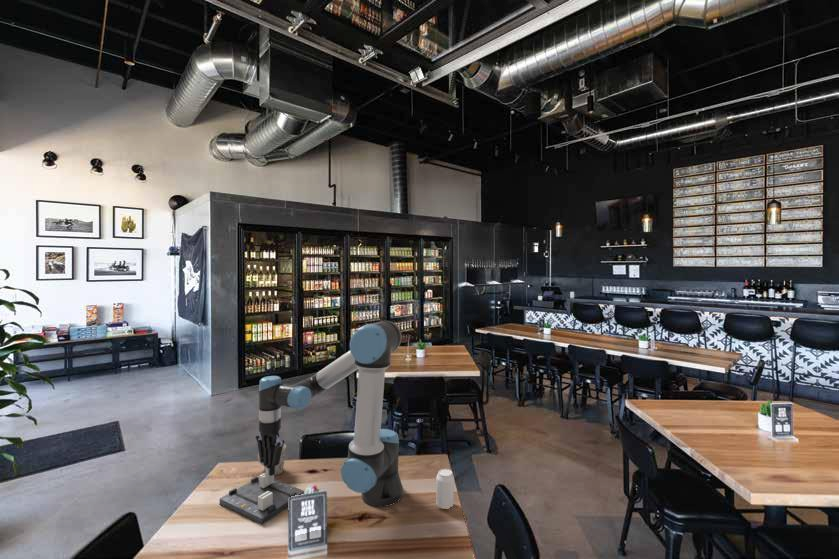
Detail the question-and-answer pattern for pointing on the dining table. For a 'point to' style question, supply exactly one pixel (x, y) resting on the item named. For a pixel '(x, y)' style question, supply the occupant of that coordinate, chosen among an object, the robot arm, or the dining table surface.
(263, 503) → the fader
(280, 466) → the mug
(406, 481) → the dining table surface
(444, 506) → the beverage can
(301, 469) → the dining table surface
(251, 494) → the console
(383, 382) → the robot arm
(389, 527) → the dining table surface
